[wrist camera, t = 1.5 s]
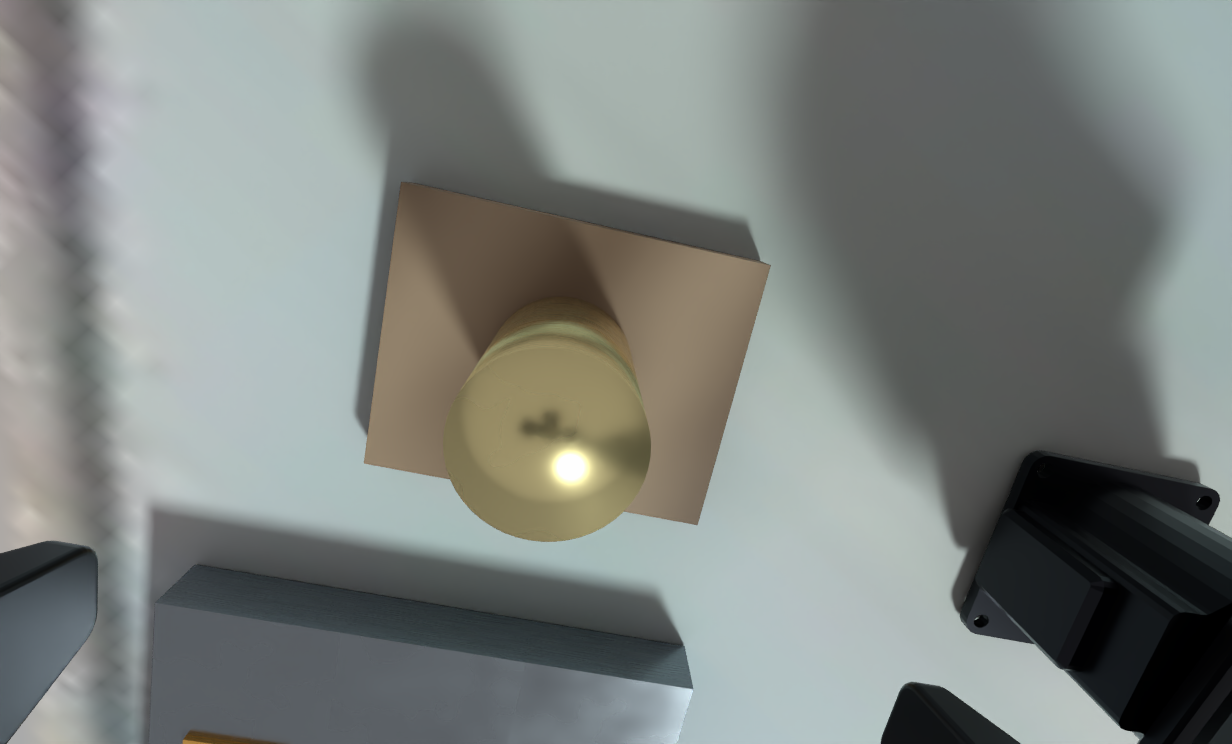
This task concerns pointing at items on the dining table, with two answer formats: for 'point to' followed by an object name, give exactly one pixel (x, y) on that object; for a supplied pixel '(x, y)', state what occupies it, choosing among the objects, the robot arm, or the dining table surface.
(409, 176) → the dining table surface
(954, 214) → the dining table surface
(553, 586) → the dining table surface
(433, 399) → the pad
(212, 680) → the hole plate
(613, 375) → the brass peg
